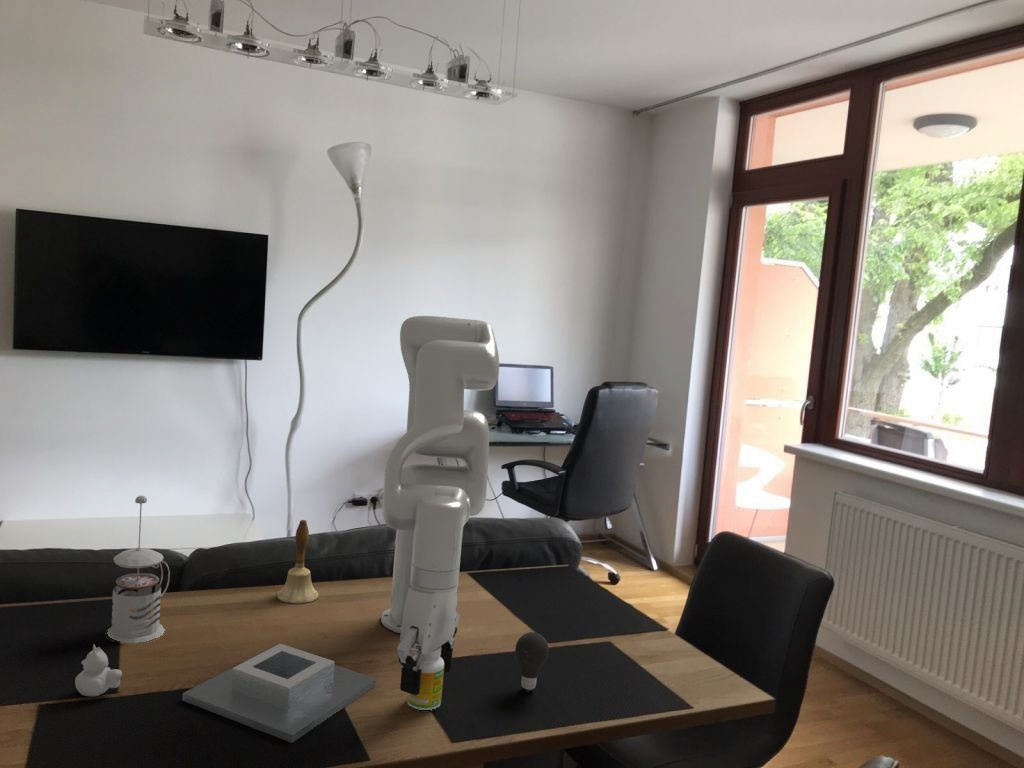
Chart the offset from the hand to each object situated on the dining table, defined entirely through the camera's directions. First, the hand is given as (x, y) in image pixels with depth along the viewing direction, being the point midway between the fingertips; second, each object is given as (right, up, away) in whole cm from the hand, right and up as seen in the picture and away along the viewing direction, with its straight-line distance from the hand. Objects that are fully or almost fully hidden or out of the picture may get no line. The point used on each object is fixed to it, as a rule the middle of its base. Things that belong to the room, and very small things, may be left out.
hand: (426, 680), depth 134 cm
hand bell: (-30, +3, +40) cm, 50 cm away
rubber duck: (-49, 0, -5) cm, 50 cm away
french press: (-53, +3, +17) cm, 56 cm away
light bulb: (+16, -5, +9) cm, 19 cm away
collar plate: (-23, -2, 0) cm, 23 cm away
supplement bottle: (0, -4, +1) cm, 4 cm away
